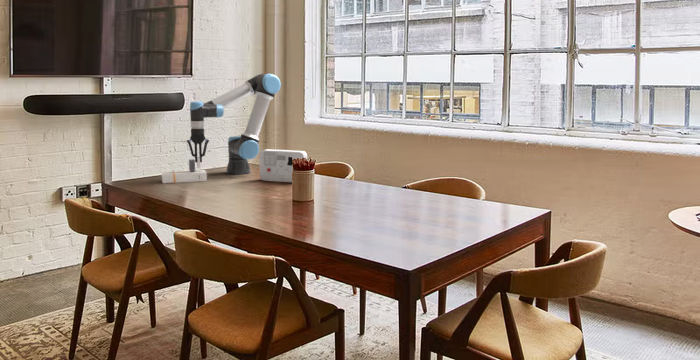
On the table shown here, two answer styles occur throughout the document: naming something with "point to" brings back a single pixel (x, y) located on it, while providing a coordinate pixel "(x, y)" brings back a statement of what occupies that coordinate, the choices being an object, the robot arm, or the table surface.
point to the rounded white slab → (278, 164)
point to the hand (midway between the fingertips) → (198, 168)
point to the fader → (192, 165)
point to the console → (184, 176)
